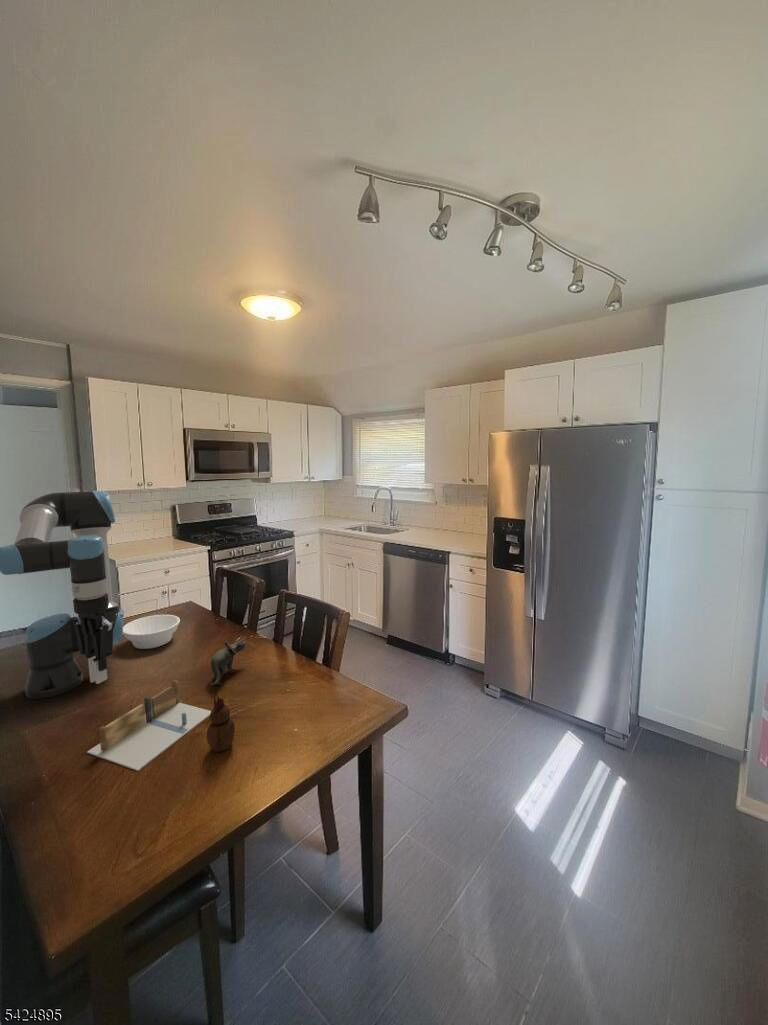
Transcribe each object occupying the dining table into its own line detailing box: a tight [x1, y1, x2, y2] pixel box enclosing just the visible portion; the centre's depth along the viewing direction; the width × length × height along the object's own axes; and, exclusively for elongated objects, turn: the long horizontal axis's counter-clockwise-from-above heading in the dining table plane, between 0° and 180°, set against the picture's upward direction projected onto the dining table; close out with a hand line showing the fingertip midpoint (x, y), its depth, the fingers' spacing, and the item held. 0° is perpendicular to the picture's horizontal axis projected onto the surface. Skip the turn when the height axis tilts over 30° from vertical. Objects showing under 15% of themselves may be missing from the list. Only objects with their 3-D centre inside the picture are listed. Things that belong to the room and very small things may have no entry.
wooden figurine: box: [206, 696, 236, 753], centre depth 109 cm, size 7×6×15 cm
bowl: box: [122, 614, 181, 650], centre depth 172 cm, size 21×21×8 cm
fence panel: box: [98, 703, 146, 751], centre depth 113 cm, size 12×1×6 cm, turn 159°
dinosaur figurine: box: [209, 634, 247, 686], centre depth 144 cm, size 22×8×11 cm, turn 168°
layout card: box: [86, 701, 211, 772], centre depth 116 cm, size 18×25×3 cm
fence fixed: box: [143, 679, 180, 723], centre depth 125 cm, size 2×11×8 cm, turn 159°
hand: (98, 680), depth 112 cm, fingers closed
